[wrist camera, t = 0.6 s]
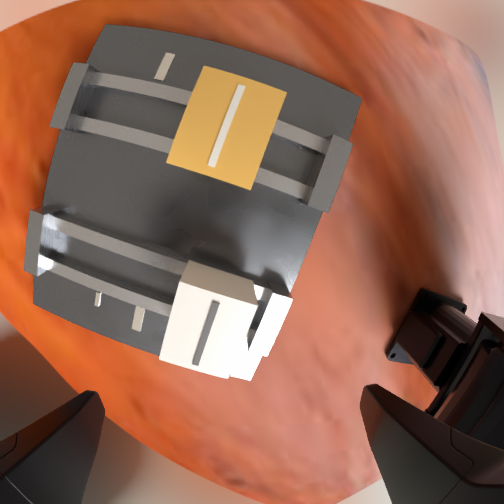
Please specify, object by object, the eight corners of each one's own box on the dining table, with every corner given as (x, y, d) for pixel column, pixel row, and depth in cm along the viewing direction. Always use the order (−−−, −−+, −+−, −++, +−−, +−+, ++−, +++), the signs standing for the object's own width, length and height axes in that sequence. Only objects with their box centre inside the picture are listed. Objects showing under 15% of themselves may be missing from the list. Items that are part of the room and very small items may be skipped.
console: (354, 102, 16) (375, 91, 13) (249, 370, 21) (252, 397, 18) (111, 31, 14) (95, 13, 11) (41, 297, 18) (20, 313, 15)
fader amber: (272, 113, 15) (287, 91, 11) (245, 186, 16) (250, 190, 12) (210, 92, 15) (203, 64, 10) (183, 165, 15) (165, 162, 11)
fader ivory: (251, 272, 17) (258, 306, 13) (227, 334, 18) (228, 380, 14) (192, 253, 17) (179, 282, 12) (173, 318, 18) (158, 360, 13)
